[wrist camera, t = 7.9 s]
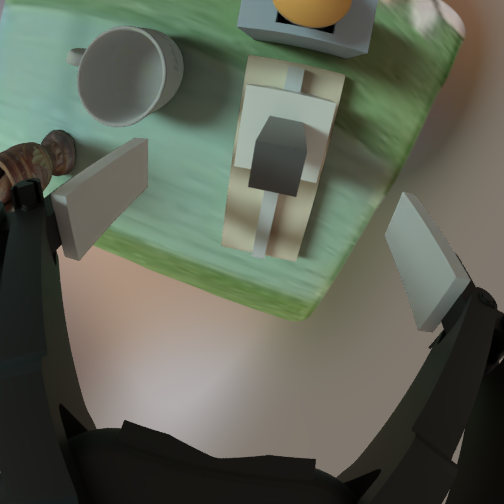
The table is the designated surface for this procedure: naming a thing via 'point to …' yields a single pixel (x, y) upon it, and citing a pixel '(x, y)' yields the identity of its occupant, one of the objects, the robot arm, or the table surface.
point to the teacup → (127, 74)
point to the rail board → (252, 196)
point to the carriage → (282, 137)
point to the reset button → (312, 12)
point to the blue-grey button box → (338, 43)
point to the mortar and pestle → (35, 163)
